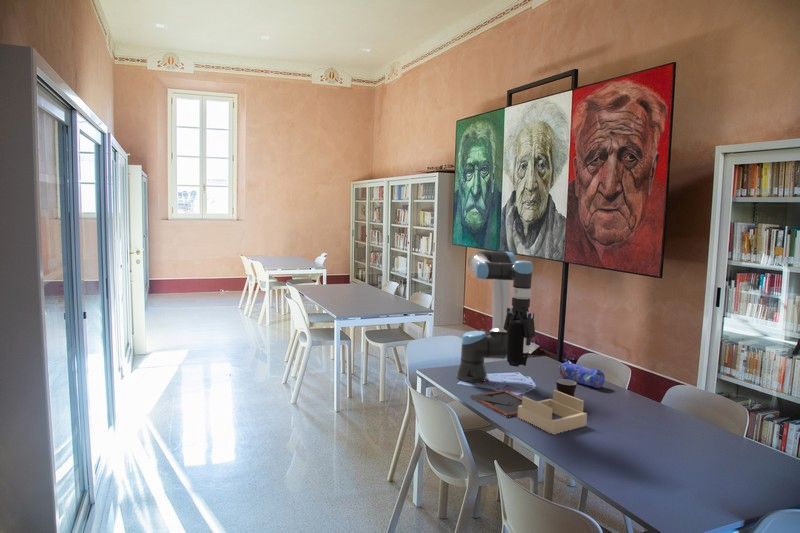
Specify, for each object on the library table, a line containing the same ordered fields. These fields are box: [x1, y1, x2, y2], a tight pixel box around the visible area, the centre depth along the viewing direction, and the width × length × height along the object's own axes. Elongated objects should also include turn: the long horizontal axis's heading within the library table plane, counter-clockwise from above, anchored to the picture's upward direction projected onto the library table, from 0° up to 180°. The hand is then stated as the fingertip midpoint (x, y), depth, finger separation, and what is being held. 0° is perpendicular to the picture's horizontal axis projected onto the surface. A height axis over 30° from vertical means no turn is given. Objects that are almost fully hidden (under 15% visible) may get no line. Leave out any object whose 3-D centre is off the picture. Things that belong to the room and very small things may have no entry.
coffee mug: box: [555, 378, 578, 397], centre depth 241 cm, size 12×9×10 cm
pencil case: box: [558, 360, 606, 389], centre depth 271 cm, size 22×9×10 cm, turn 38°
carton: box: [516, 389, 588, 435], centre depth 218 cm, size 19×19×10 cm
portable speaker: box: [506, 319, 530, 368], centre depth 231 cm, size 9×9×20 cm
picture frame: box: [470, 389, 522, 418], centre depth 237 cm, size 20×2×25 cm
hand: (517, 349), depth 231 cm, fingers closed on portable speaker, 9 cm apart
